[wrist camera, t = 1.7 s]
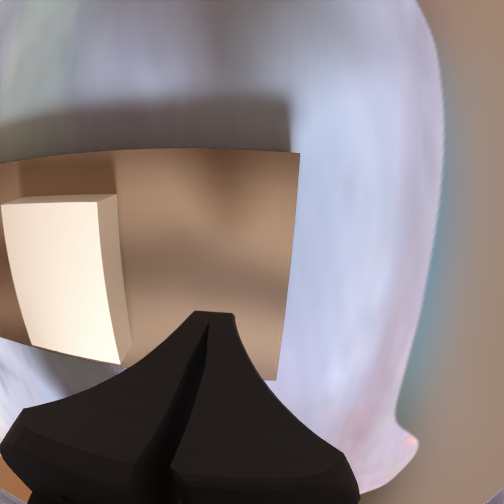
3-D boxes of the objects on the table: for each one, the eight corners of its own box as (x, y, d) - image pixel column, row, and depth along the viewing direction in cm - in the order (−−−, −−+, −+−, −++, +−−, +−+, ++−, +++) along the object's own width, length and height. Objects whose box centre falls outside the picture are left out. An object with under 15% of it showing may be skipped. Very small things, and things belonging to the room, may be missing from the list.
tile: (132, 342, 15) (120, 364, 13) (48, 327, 15) (32, 344, 13) (116, 193, 13) (97, 202, 11) (24, 196, 13) (0, 205, 11)
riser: (273, 349, 19) (276, 380, 16) (19, 317, 19) (-2, 336, 16) (291, 152, 15) (300, 153, 12) (-6, 164, 15) (-35, 170, 12)
